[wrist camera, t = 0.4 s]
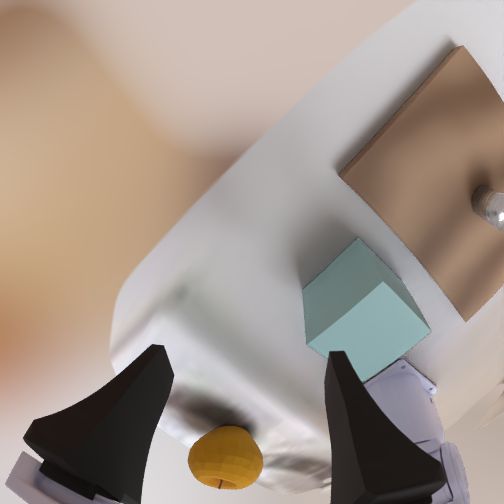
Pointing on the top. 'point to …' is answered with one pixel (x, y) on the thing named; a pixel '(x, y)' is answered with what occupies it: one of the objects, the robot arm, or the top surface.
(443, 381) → the top surface
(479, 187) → the metal stub
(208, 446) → the apple
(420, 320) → the mint green cube
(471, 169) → the walnut board
